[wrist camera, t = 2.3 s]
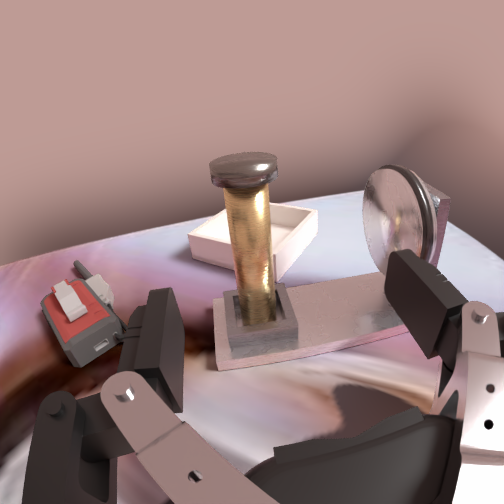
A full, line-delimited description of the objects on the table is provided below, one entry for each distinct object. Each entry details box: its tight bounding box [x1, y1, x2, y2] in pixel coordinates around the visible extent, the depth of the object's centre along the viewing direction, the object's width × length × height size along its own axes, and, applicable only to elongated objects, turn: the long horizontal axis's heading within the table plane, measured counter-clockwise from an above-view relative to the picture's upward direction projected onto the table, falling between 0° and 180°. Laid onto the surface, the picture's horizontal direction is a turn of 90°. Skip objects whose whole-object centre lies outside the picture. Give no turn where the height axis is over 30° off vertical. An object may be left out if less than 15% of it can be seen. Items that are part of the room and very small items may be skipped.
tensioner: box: [213, 165, 451, 371], centre depth 24 cm, size 20×10×14 cm, turn 97°
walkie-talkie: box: [40, 260, 128, 367], centre depth 31 cm, size 9×4×20 cm
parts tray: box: [188, 203, 318, 282], centre depth 40 cm, size 12×12×4 cm
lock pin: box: [209, 152, 278, 326], centre depth 23 cm, size 4×4×14 cm
